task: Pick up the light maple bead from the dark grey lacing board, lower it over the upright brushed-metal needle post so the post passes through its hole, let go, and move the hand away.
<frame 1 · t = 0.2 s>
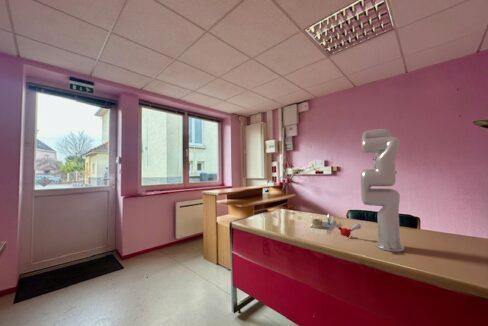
hand: (382, 182, 148), 31 cm above the worktop, tool pointing down, fingers open, 9 cm apart
molecular model: (345, 237, 127), on the worktop
needle post: (329, 226, 151), resting on lacing board
lacing board: (323, 227, 148), on the worktop
bead: (317, 227, 145), point 1 cm above the worktop, touching lacing board
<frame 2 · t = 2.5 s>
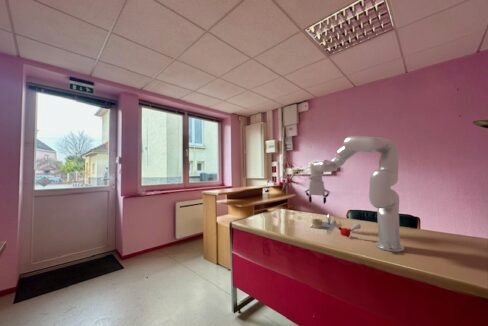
hand: (317, 202, 145), 19 cm above the worktop, tool pointing down, fingers open, 9 cm apart
nothing on the worktop moved.
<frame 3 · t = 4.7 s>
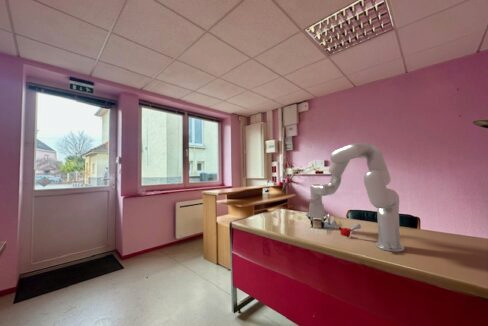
hand: (317, 226, 145), 2 cm above the worktop, tool pointing down, fingers closed on bead, 6 cm apart
bead: (317, 227, 145), point 2 cm above the worktop, touching gripper, lacing board
everything else where it was.
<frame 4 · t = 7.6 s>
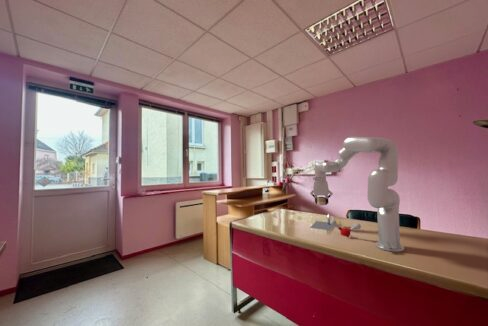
hand: (321, 203, 148), 18 cm above the worktop, tool pointing down, fingers closed on bead, 6 cm apart
bead: (321, 204, 148), point 17 cm above the worktop, touching gripper
everything else where it was.
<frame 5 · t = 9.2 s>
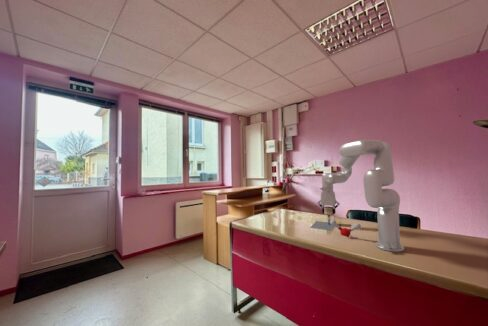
hand: (328, 213, 151), 9 cm above the worktop, tool pointing down, fingers closed on bead, 6 cm apart
bead: (328, 214, 151), point 9 cm above the worktop, touching gripper
everything else where it was.
when the fingers open (5 cm above the worktop, at t = 10.7 s): bead drops 3 cm, resting on lacing board.
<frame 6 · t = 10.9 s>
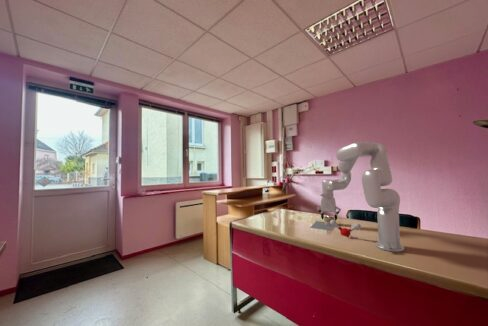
hand: (329, 219, 151), 5 cm above the worktop, tool pointing down, fingers open, 8 cm apart
bead: (329, 224, 151), point 1 cm above the worktop, touching lacing board
everything else where it was.
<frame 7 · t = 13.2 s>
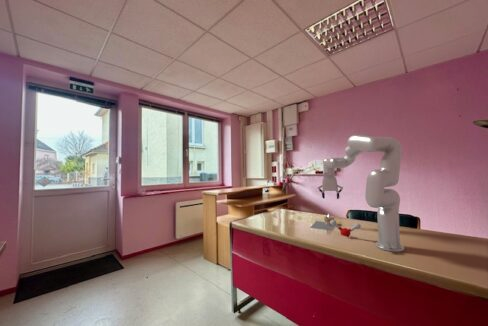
hand: (330, 198, 149), 21 cm above the worktop, tool pointing down, fingers open, 9 cm apart
nothing on the worktop moved.
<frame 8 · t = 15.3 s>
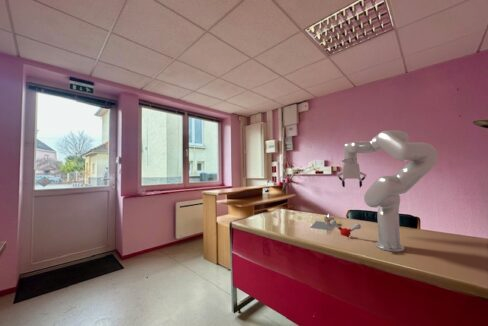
hand: (352, 187, 135), 30 cm above the worktop, tool pointing down, fingers open, 9 cm apart
nothing on the worktop moved.
at the end: bead 0.0 cm from the needle post (horizontally); bead point 1.5 cm above the worktop; the gripper is holding nothing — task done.
